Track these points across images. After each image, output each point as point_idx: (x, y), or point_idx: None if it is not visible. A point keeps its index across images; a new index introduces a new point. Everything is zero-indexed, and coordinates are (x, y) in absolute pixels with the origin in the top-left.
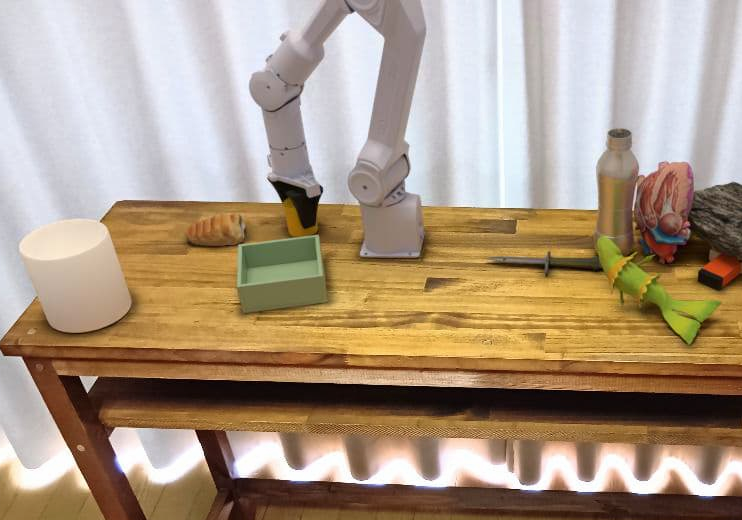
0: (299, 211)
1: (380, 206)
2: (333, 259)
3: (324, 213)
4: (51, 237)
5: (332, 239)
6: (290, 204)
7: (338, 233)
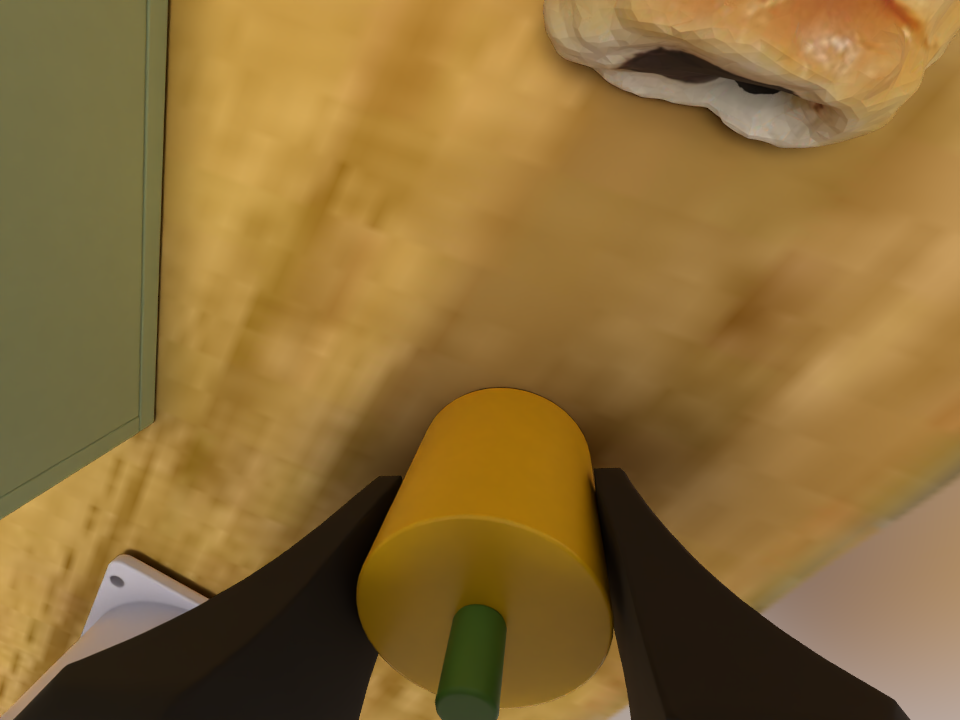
0: (255, 572)
1: None
2: (151, 461)
3: None
4: None
5: None
6: (466, 565)
7: None
